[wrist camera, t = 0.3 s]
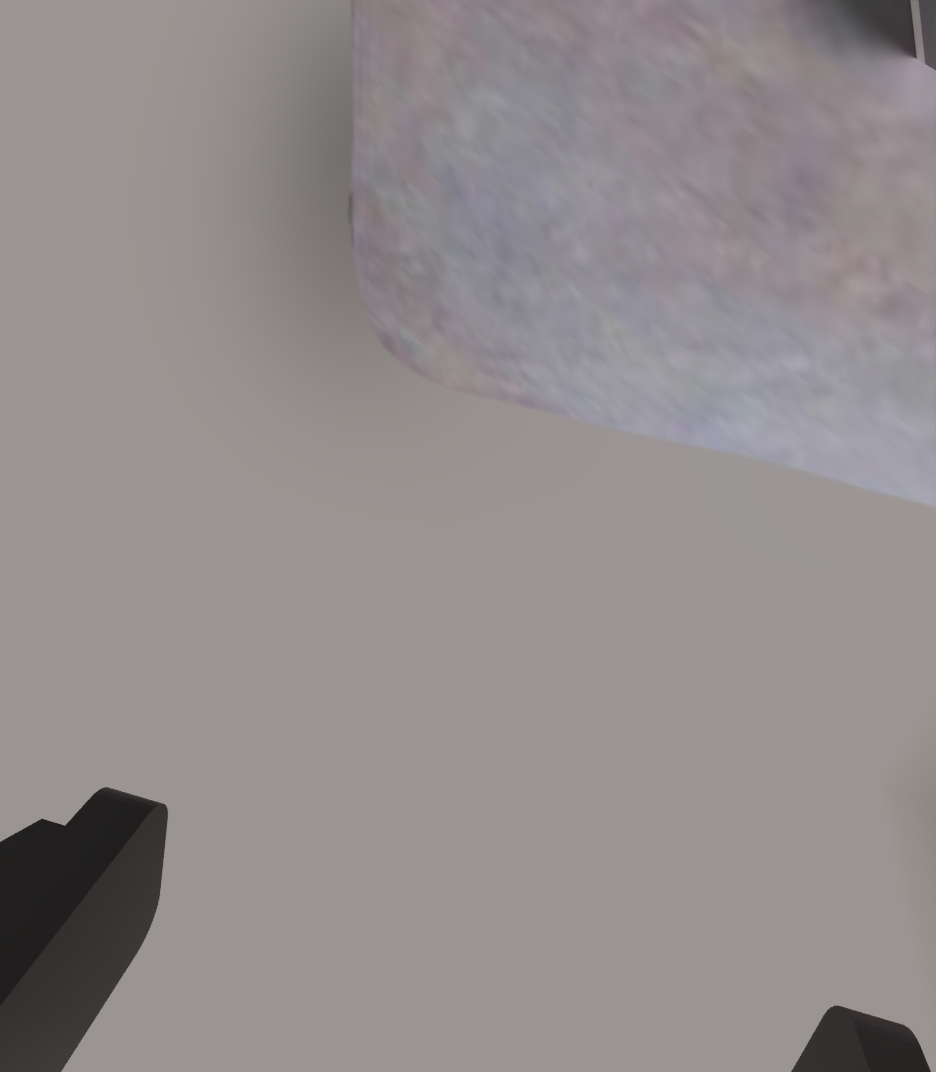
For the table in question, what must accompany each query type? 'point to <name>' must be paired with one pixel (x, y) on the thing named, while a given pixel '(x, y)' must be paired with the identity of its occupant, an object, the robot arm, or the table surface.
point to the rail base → (917, 30)
